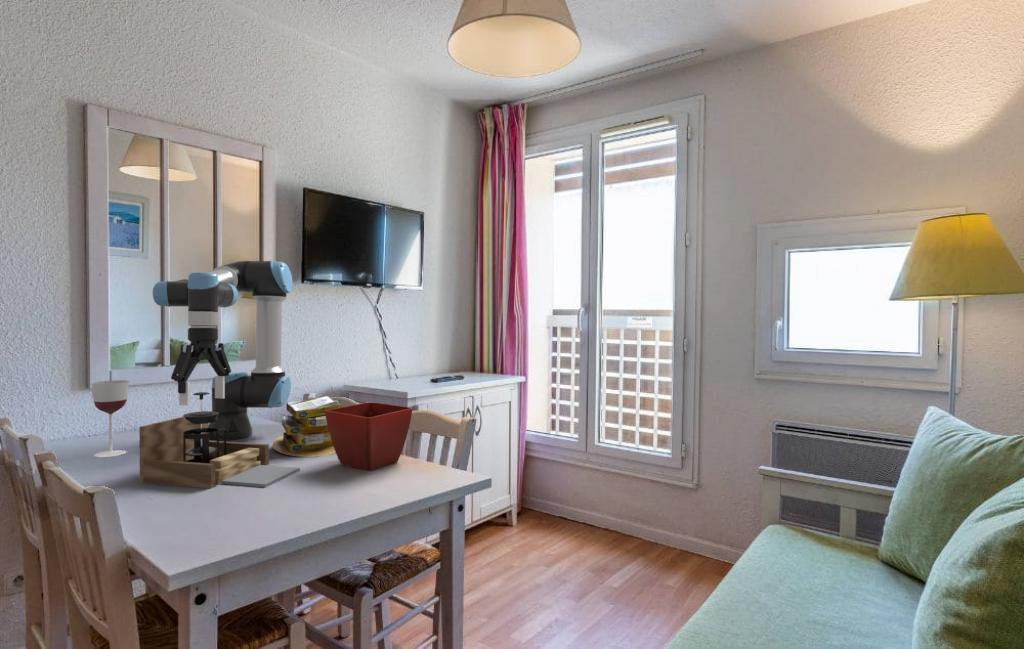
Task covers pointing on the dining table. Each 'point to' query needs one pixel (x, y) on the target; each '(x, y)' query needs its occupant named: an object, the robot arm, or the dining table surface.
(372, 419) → the plant pot
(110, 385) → the wineglass
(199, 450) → the french press
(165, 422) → the wooden box
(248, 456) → the offcut stack
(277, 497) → the dining table surface
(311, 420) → the stacked boxes on plate
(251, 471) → the slate mat
